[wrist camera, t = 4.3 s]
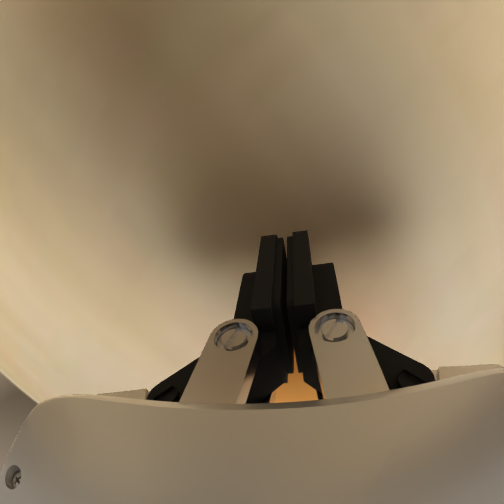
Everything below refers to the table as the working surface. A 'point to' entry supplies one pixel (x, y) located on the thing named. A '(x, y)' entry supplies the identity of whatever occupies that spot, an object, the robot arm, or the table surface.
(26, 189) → the table surface
